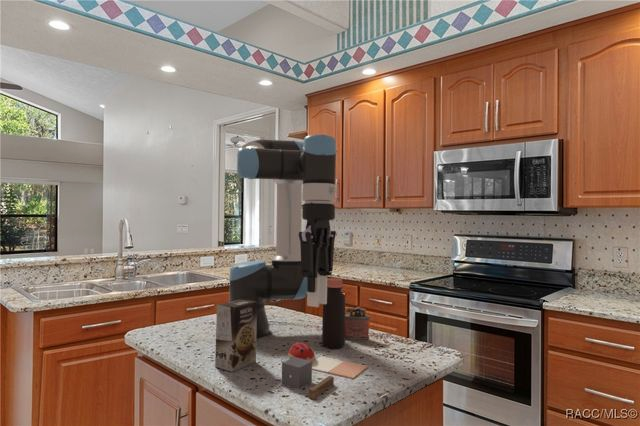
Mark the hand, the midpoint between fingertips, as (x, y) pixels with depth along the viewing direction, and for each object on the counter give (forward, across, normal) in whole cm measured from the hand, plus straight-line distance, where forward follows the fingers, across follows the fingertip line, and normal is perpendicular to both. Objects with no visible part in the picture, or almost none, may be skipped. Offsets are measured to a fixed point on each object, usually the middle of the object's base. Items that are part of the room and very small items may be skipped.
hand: (317, 304), depth 96 cm
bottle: (+19, +28, +10) cm, 35 cm away
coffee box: (+19, 0, +24) cm, 31 cm away
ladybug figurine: (+18, +12, +12) cm, 25 cm away
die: (+16, -1, +2) cm, 16 cm away
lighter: (+19, +38, +7) cm, 43 cm away
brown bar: (+19, -2, -3) cm, 19 cm away
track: (+19, +12, +5) cm, 23 cm away
